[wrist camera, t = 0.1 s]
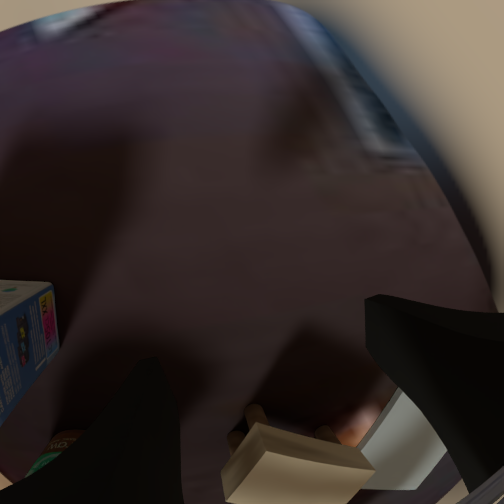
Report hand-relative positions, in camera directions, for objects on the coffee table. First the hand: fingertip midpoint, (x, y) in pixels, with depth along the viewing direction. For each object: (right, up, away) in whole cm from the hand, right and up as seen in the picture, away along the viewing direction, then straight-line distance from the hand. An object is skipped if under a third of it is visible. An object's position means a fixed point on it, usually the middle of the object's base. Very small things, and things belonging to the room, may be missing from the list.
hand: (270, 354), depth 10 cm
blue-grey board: (+17, -15, +15) cm, 27 cm away
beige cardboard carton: (+2, -11, +12) cm, 17 cm away
